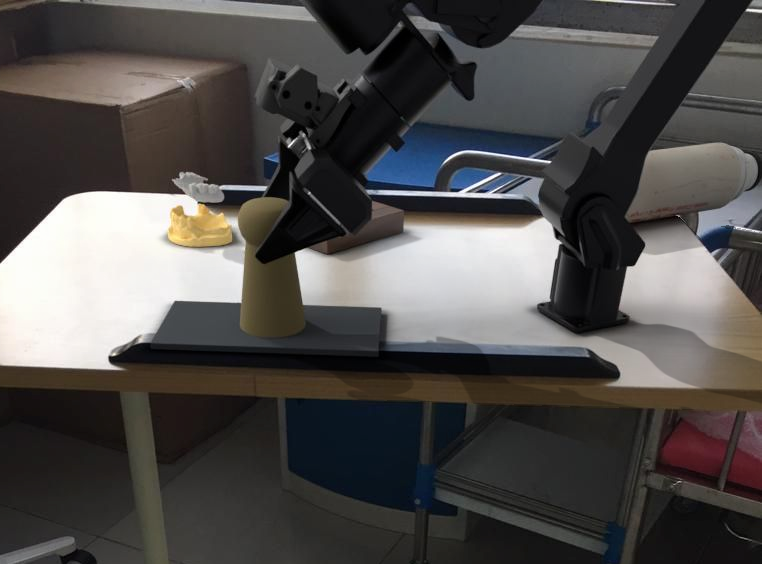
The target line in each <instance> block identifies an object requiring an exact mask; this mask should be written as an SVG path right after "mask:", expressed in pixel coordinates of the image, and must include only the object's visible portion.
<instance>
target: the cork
mask: <svg viewBox="0 0 762 564" xmlns="http://www.w3.org/2000/svg"><path fill="white" fill-rule="evenodd" d="M288 202H289V201H287V200H285V199H281V198H273V197H264V198H261V197H257V198H253V199H249V200H247V201H246V202H244V203H243V204H242V205H241V207H240V209H239V212H238V215H237V227H238V230H239V233H240V235H241V237H242V238H243V240H244V241H245V243H244V244H245V246H244V257H243V258H244V259H243V273H242V274H243V275H242V289H241V302H240V303H241V315H240V327H241V329H242V330H243V331H244V332H246V333H248V334H250V335H253V336H258V337H266V338H277V337H286V336H290V335H294V334H296V333H298V332H300V331H302V330H303V329H304V328H305V325H306V321H305V314H304V308H303V305H304V302H303V295H302V290H301V283H300V277H299V270H298V264H297V258H296V252H295V253H292V254H290V255H287V256H285V257H282V258H280V259H277V260H274V261H272V262H269V263H267V264H262V263H261V262H260V261H259V260H257V259H256V257H255V252H256V251H257V249H258V248H259V246H260V244H261V243H262V241H263V240H264V238H265V237H266V235H267V234H268V232H269V231H270V229H271V227H272V226H273V224H274V223H275V221H276V220H277V218H278V217H279V215H280V214H281V212H282V211H283V209H284V208H285V206H286V205H287V203H288Z"/></svg>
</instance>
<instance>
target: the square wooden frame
mask: <svg viewBox="0 0 762 564" xmlns="http://www.w3.org/2000/svg"><path fill="white" fill-rule="evenodd" d="M404 221H405V210H403V209H400V208H398V207H394V206H390V205H388V204H385V203H381V202H377V201H375V200H372V219H371V220H370V221H369V222H368V223H367V224H366V225H365V226H364V227H363V228H362V229H361V230H360V231H359V232H358V233H357V234H356V235H355V236H354V235H353V234H351V233H350V232H349V231H348V230H347V229H346V230H347V232H348V235H347V236H345V237H343V238H342V237H341V236H339V237H336V238H334V239H331V240H328V241H325V242H322V243H319V244H316V245H313V246H310V247H308V248H309V249H312V250H314V251H317V252H320V253H323V254H325V255H330V254H333V253H335V252H339V251H343V250H346V249H349V248H353V247H357V246H360V245H363V244H367V243H369V242H373V241H377V240H380V239H383V238H387V237H389V236H394V235H397V234H400V233H403V232H404V225H405V222H404Z"/></svg>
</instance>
